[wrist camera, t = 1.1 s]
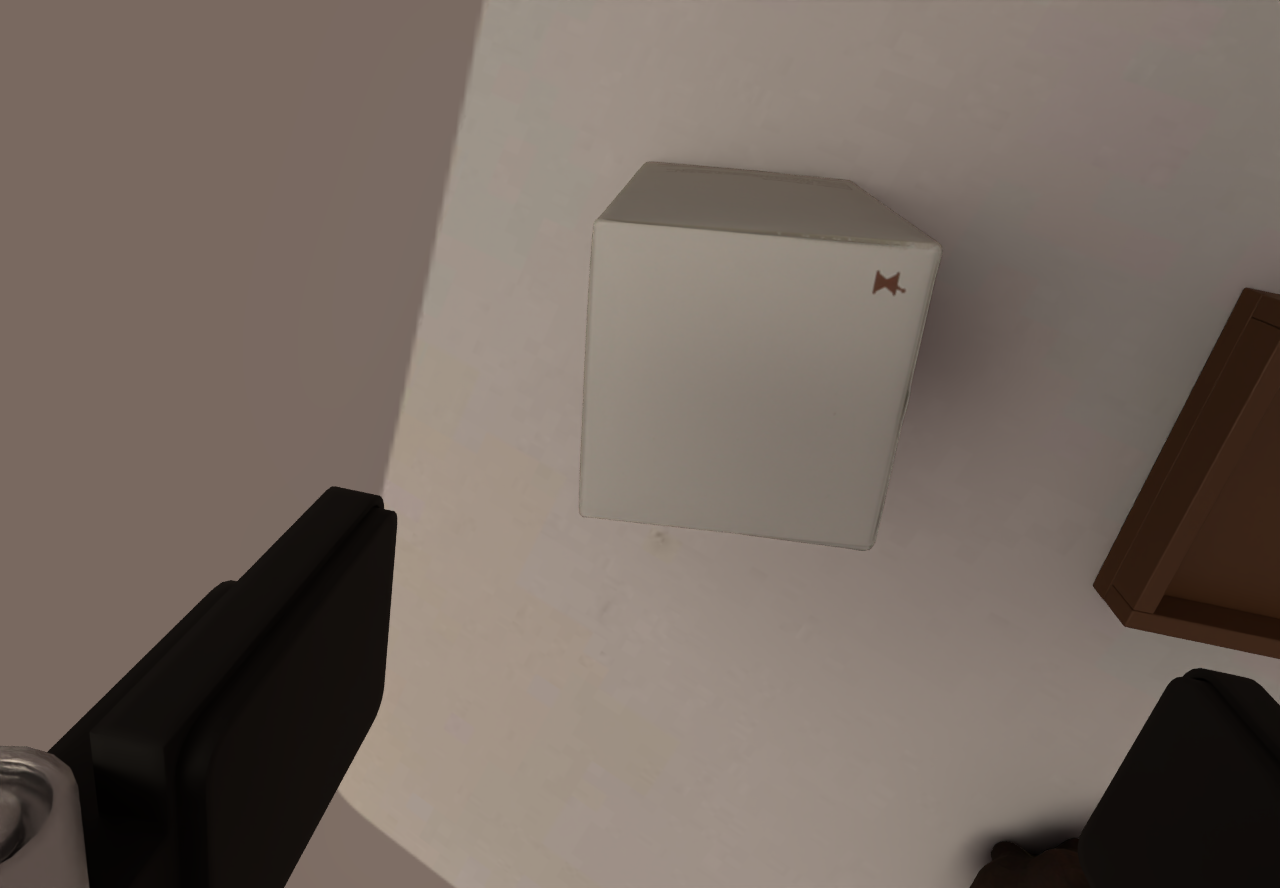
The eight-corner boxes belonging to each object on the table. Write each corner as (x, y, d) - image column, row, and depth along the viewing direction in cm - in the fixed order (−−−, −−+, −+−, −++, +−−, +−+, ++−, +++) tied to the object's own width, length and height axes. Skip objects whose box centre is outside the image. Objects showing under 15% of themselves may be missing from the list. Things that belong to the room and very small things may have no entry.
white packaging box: (640, 156, 28) (589, 203, 16) (856, 178, 27) (960, 241, 16) (623, 360, 31) (569, 522, 19) (817, 381, 30) (881, 560, 19)
